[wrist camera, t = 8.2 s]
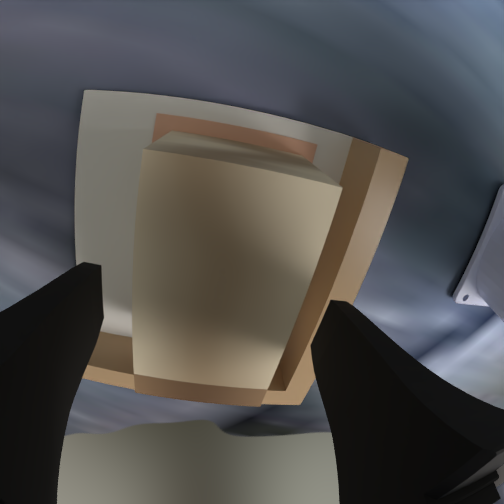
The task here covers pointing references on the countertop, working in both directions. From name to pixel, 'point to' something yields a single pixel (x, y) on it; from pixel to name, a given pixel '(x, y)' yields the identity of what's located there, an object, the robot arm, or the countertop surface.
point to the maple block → (221, 264)
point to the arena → (237, 129)
